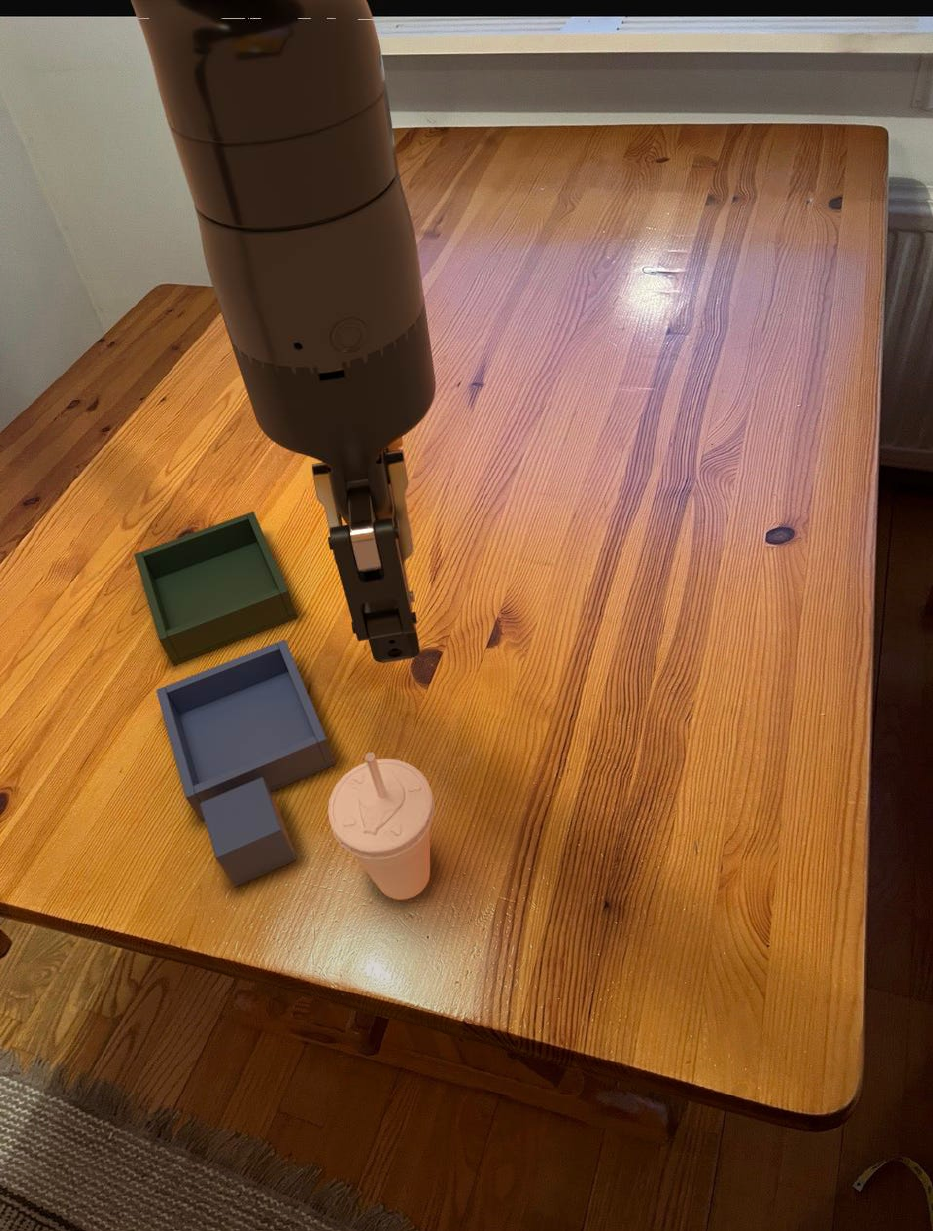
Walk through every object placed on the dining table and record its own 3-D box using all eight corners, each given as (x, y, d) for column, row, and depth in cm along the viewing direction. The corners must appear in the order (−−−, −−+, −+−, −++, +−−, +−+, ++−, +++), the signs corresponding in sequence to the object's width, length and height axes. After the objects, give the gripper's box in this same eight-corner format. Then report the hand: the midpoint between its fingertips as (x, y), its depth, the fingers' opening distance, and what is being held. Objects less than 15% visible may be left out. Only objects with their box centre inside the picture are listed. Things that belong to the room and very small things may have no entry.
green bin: (173, 666, 77) (158, 639, 74) (147, 580, 83) (133, 553, 81) (298, 617, 79) (288, 590, 76) (263, 538, 86) (253, 510, 83)
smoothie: (459, 838, 64) (436, 726, 54) (437, 928, 60) (406, 825, 50) (371, 823, 66) (331, 710, 55) (343, 909, 62) (294, 806, 51)
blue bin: (201, 821, 67) (185, 797, 64) (171, 715, 73) (155, 689, 71) (336, 764, 69) (326, 738, 66) (295, 665, 75) (285, 638, 73)
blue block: (234, 887, 63) (215, 858, 60) (219, 833, 66) (199, 802, 63) (297, 860, 64) (281, 829, 61) (279, 808, 67) (262, 776, 64)
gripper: (230, 227, 39) (313, 508, 52) (216, 434, 30) (321, 716, 42) (405, 200, 40) (446, 486, 52) (444, 398, 30) (483, 690, 43)
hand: (390, 590), depth 47 cm, fingers open, 8 cm apart
